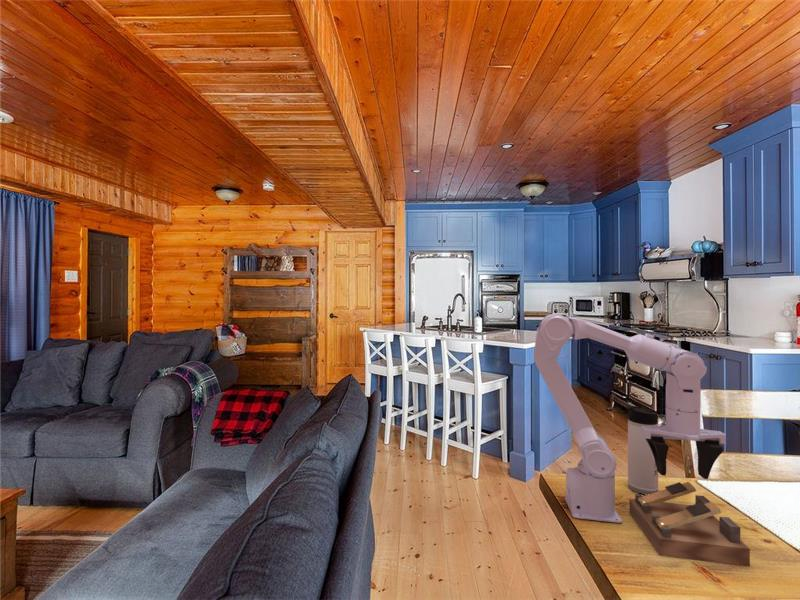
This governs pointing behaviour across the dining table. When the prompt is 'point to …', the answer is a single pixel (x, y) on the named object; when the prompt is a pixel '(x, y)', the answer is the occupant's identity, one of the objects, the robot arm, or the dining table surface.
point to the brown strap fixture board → (691, 534)
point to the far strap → (667, 493)
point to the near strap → (688, 515)
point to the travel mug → (641, 451)
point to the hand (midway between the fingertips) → (682, 475)
